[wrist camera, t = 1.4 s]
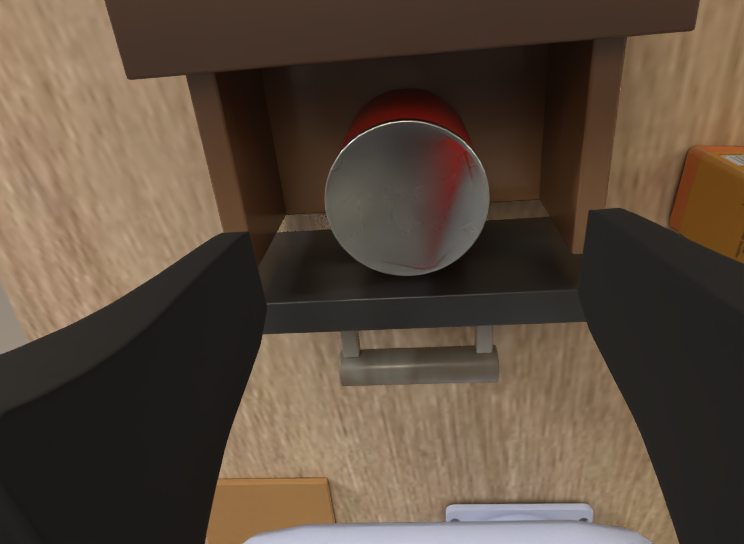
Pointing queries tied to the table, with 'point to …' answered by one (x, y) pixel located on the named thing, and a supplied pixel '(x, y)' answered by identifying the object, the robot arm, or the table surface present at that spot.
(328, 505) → the trivet
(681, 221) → the supplement box
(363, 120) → the tin
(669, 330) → the robot arm
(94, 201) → the table surface
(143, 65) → the cabinet
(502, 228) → the drawer
